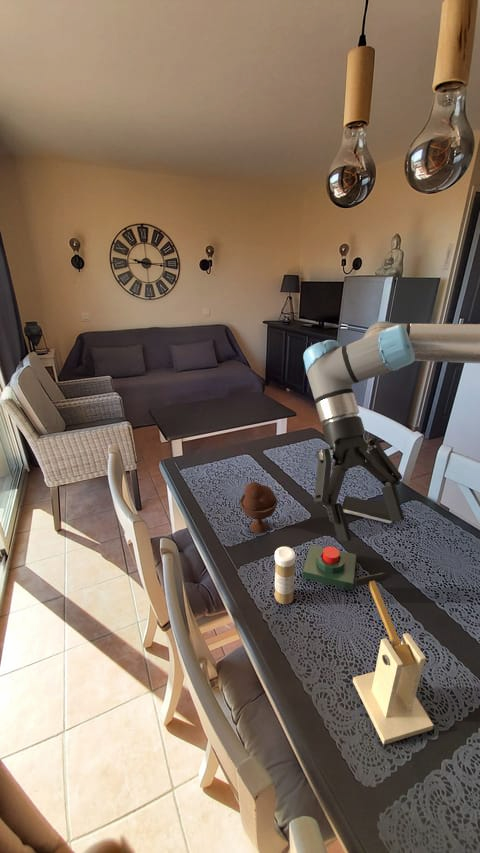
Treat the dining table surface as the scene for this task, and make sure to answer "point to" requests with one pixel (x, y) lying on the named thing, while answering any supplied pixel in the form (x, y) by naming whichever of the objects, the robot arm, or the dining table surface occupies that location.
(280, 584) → the sprinkles bottle
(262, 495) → the ice cream bowl
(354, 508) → the smartphone
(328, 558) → the button
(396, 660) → the wooden lever stand
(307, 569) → the off panel
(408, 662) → the lever
